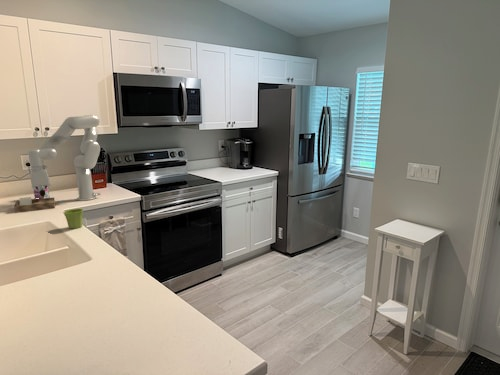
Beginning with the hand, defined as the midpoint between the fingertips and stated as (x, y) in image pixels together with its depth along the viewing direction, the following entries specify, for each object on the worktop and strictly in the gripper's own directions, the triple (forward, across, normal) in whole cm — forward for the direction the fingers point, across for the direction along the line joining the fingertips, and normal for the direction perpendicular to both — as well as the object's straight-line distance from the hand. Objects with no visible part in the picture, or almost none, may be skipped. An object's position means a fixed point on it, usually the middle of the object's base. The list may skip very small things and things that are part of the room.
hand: (43, 196), depth 225 cm
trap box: (+7, +4, 0) cm, 8 cm away
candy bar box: (+8, +2, -30) cm, 31 cm away
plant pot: (+7, -15, +67) cm, 69 cm away
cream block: (+4, +10, 0) cm, 11 cm away
